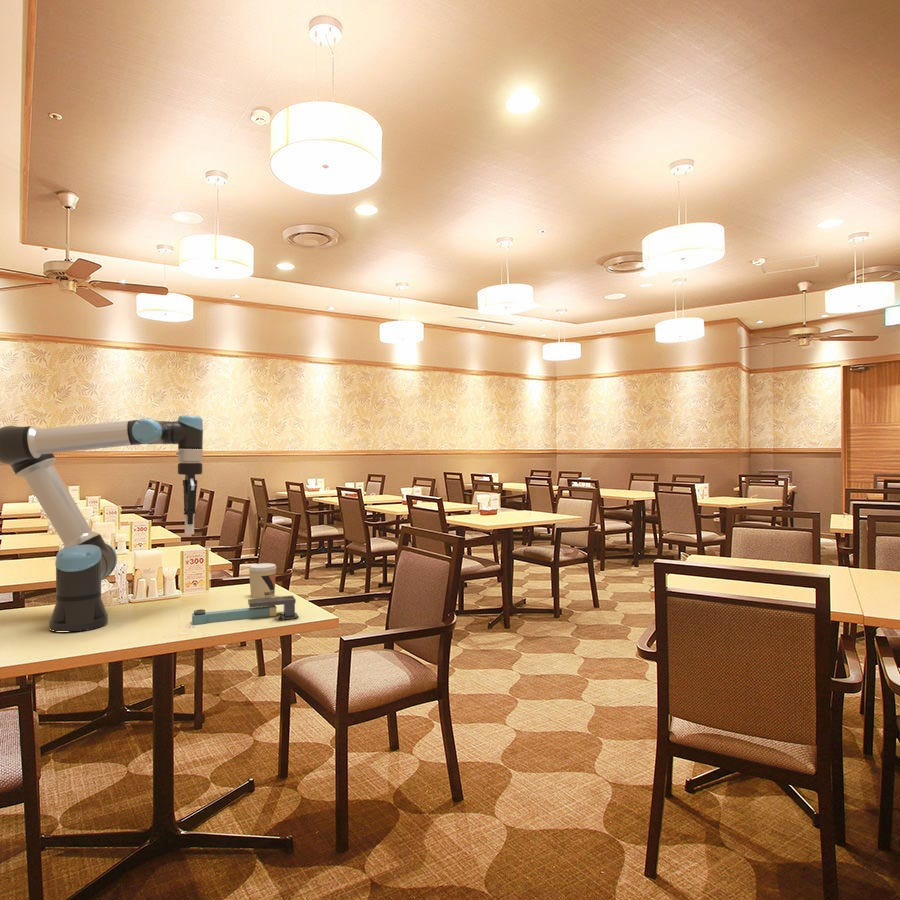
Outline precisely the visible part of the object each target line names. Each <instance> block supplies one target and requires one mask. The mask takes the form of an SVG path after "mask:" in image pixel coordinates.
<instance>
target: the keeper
mask: <svg viewBox="0 0 900 900" xmlns="http://www.w3.org/2000/svg"><path fill="white" fill-rule="evenodd" d="M296 603H297V602H296V597H295V596H294V595H284V596H282V595H281V596H273V597H270V598H258V599H257V598H250V599H249V598H248V599H247V604H248V606H249V607H248V608H253V607H263V606H272V605H275V606H280V605H282V606H283V613H280V614H279V618H280V617H281V618H280V619H282V620H283V621H285V620H284V619H292V620H295V619H294V618H300V616H299V615H298V612H296ZM282 620H281V621H282Z"/></svg>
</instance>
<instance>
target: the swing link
mask: <svg viewBox="0 0 900 900" xmlns="http://www.w3.org/2000/svg"><path fill="white" fill-rule="evenodd" d="M277 614H278V613H277V605H272V606H262V607H251V608H250V607H245V608H234V609H225V610H216V611H215V610H213V611H205V613H203V615H196V614H194V612H193V613H191V623H192V625H193V626H195V625H203V624H205V625H206V624H211V623H219V622H220V623H221V622H226V621H227V622H228V621H229V622H230V621H237V620H238V621H239V620H248V619H256V618H264V617H265V618H266V617H275V616H277Z"/></svg>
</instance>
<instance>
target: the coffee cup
mask: <svg viewBox="0 0 900 900" xmlns="http://www.w3.org/2000/svg"><path fill="white" fill-rule="evenodd" d="M248 570H249V574H248V575H249V588H250V598H251V599H258V598H270V597H275V593H276V576H277V565H276V564H275V563H272V562H271V563H269V562H268V563H267V562H263V563H261V562H260V563H254V564H250V566H249V568H248Z"/></svg>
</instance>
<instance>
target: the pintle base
mask: <svg viewBox="0 0 900 900" xmlns="http://www.w3.org/2000/svg"><path fill="white" fill-rule="evenodd" d="M205 612H206V609H203V608H202V609H201V608H200V609H195V610H193V613H194V614H196V615H203V613H205Z"/></svg>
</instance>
